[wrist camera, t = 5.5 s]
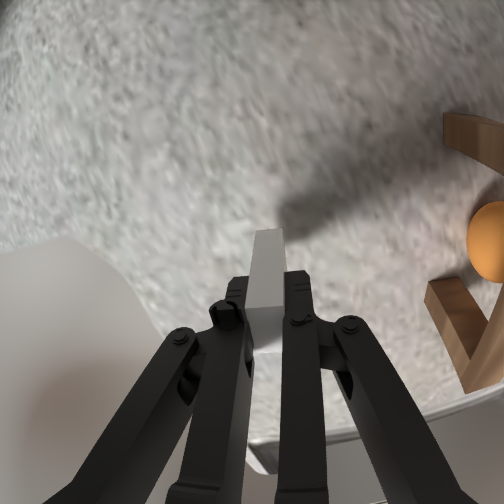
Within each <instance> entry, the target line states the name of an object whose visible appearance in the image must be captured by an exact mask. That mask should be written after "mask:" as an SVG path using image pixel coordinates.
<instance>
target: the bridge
mask: <svg viewBox="0 0 504 504" xmlns="http://www.w3.org/2000/svg"><path fill="white" fill-rule="evenodd" d="M443 123H444V144H445V145H447V146H449V147H451V148H453V149H455V150H457V151H459V152H461V153H463V154H465V155H467V156H469V157H471V158H473V159H475V160H477V161H478V162H480V163H482V164H484V165H486V166H488V167H489V168H491V169H493V170H495V171H496V172H498V173H500V174H501V175H503V176H504V124H502V123H499V122H496V121H493V120H490V119H486V118H483V117H480V116H473V115H463V114H452V113H443ZM424 303H425V305H426V307H427V309H428V311H429V313H430V315H431V317H432V319H433V321H434V323H435V325H436V327H437V329H438V331H439V333H440V336H441V338H442V340H443V342H444V344H445V346H446V349H447V351H448V353H449V356H450V358H451V360H452V363H453V365H454V367H455V370H456V372H457V375H458V377H459V380H460V382H461V385H462V387H463V390H464V393H465V394H468V393H471V392H474V391H477V390H480V389H483V388H486V387H489V386H491V385H494V384H497V383H499V382H500V381H501V379H502V378H503V376H504V282H503V285H502V288H501V291H500V294H499V296H498V299H497V302H496V304H495V307H494V309H493V312H492V314H491V317H490V319H489V322H488V320H487V319H486V317H485V315H484V314H483V312H482V311H481V309H480V308H479V306H478V304H477V303H476V301H475V300H474V298H473V297H472V295H471V294H470V292H469V291H468V289H467V288H466V286H465V285H464V284H463V282H462V281H461V279H460V278H459V277H457V278H450V279H444V280H437V281H431V282H428V286H427V290H426V295H425V299H424Z"/></svg>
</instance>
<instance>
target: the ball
mask: <svg viewBox="0 0 504 504" xmlns="http://www.w3.org/2000/svg"><path fill="white" fill-rule="evenodd" d="M466 245H467V252H468V256H469V259H470V261H471V263H472V265H473V267H474V268H475V270H476V271H477V272H478V273H479V274H480V275H481V276H482V277H484V278H485V279H487V280H489V281H491V282H494V283H503V282H504V201H495V202H491V203H489V204H486V205H485V206H483V207H482V208H480V209H479V210H478V211H477V213H476V214H475V215H474V217H473V218H472V220H471V222H470V224H469V227H468V231H467V238H466Z"/></svg>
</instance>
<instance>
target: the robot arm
mask: <svg viewBox="0 0 504 504" xmlns="http://www.w3.org/2000/svg"><path fill="white" fill-rule="evenodd" d="M209 313H210V316H211V319H212V322H213V327H212V328H210V329H208V330H205V331H202V332H198V333H195V332H194V331H193V330H192V329H191V328H188V327H181V328H177V329H175V330H173V331H171V332H170V333H169V335H168V336H167V337H166V339H165V340H164V341H163V343H162V344H161V346H160V347H159V349H158V350H157V352H156V353H155V355H154V356H153V358H152V359H151V361H150V362H149V364H148V365H147V367H146V368H145V369H144V371H143V373H142V374H141V376H140V377H139V378H138V380H137V381H136V383H135V384H134V386H133V387H132V389H131V390H130V392H129V394H128V395H127V396H126V398H125V400H124V401H123V403H122V404H121V406H120V407H119V409H118V410H117V412H116V413H115V415H114V416H113V418H112V419H111V421H110V422H109V424H108V425H107V427H106V429H105V430H104V432H103V433H102V435H101V436H100V438H99V439H98V441H97V443H96V444H95V446H94V447H93V449H92V450H91V452H90V453H89V455H88V457H87V458H86V460H85V461H84V463H83V464H82V466H81V467H80V469H79V471H78V472H77V474H76V476H75V477H74V479H73V480H72V482H71V483H69V484H68V485H67V486H65V487H64V488H63V489H62V490H60V491H59V492H57V493H56V494H55V495H53V496H52V497H51V498H49V499H48V500H47V501H45V502H44V503H43V504H145V503H146V501H147V499H148V497H149V495H150V493H151V492H152V490H153V488H154V486H155V484H156V482H157V480H158V478H159V476H160V474H161V473H162V471H163V469H164V467H165V465H166V463H167V462H168V460H169V458H170V456H171V454H172V452H173V450H174V448H175V446H176V444H177V443H178V441H179V439H180V437H181V435H182V433H183V431H184V429H185V427H186V425H187V423H188V421H189V420H190V418H191V416H192V420H191V424H190V428H189V433H188V437H187V442H186V447H185V452H184V456H183V461H182V465H181V470H180V475H179V478H178V480H177V482H175V483H174V484H172V485H171V486H170V488H169V490H168V493H167V497H166V501H165V504H241V496H242V487H243V476H244V466H245V458H246V448H247V438H248V428H249V417H250V407H251V396H252V386H253V375H254V364H255V363H254V357H253V349H254V350H255V353H272V352H282V384H281V418H280V445H279V467H278V485H277V490H276V494H275V501H274V504H329V494H328V487H327V462H326V439H325V422H324V406H323V393H322V380H321V368H322V369H328V370H332V371H333V374H334V376H335V379H336V381H337V383H338V385H339V388H340V390H341V392H342V394H343V397H344V399H345V401H346V404H347V406H348V408H349V411H350V413H351V415H352V418H353V420H354V422H355V425H356V427H357V429H358V432H359V434H360V436H361V439H362V441H363V443H364V446H365V448H366V451H367V453H368V455H369V458H370V460H371V463H372V465H373V467H374V470H375V472H376V475H377V477H378V479H379V482H380V484H381V487H382V489H383V492H384V494H385V497H386V499H387V502H388V504H478V503H477V502H476V501H474V500H473V499H472V498H470V497H469V496H468V495H467V494H466V493H465V492H463V491H462V490H461V489H460V486H459V484H458V482H457V480H456V478H455V476H454V474H453V472H452V470H451V468H450V466H449V464H448V462H447V460H446V459H445V457H444V455H443V453H442V451H441V449H440V447H439V445H438V443H437V441H436V440H435V438H434V436H433V434H432V432H431V430H430V429H429V427H428V425H427V423H426V421H425V420H424V418H423V416H422V414H421V412H420V411H419V409H418V407H417V405H416V404H415V402H414V400H413V399H412V397H411V395H410V393H409V392H408V390H407V388H406V387H405V385H404V383H403V381H402V380H401V378H400V376H399V375H398V373H397V371H396V370H395V368H394V367H393V365H392V363H391V362H390V360H389V358H388V357H387V355H386V353H385V352H384V350H383V349H382V347H381V345H380V344H379V342H378V341H377V339H376V337H375V336H374V334H373V333H372V331H371V330H370V328H369V326H368V325H367V323H366V322H365V321H364V320H363V319H362V318H360V317H358V316H353V315H348V316H343V317H341V318H339V319H338V320H337V321H336V322H335V323H334V322H328V321H324V320H322V319H320V318H319V317H317V316H316V314H315V312H314V308H313V300H312V292H311V284H310V276H309V275H308V274H307V273H306V271H305V270H301V271H290V272H287V263H286V254H285V246H284V238H283V230H282V228H277V229H267V230H258V231H256V234H255V240H254V247H253V254H252V261H251V268H250V275H249V276H241V277H233V279H232V280H231V281H230V282H229V283H228V287H227V292H226V296H225V299H224V300H220V301H218V302H216V303H214V304H213V305H212V306H211V307H210V309H209ZM192 414H193V415H192Z"/></svg>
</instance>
